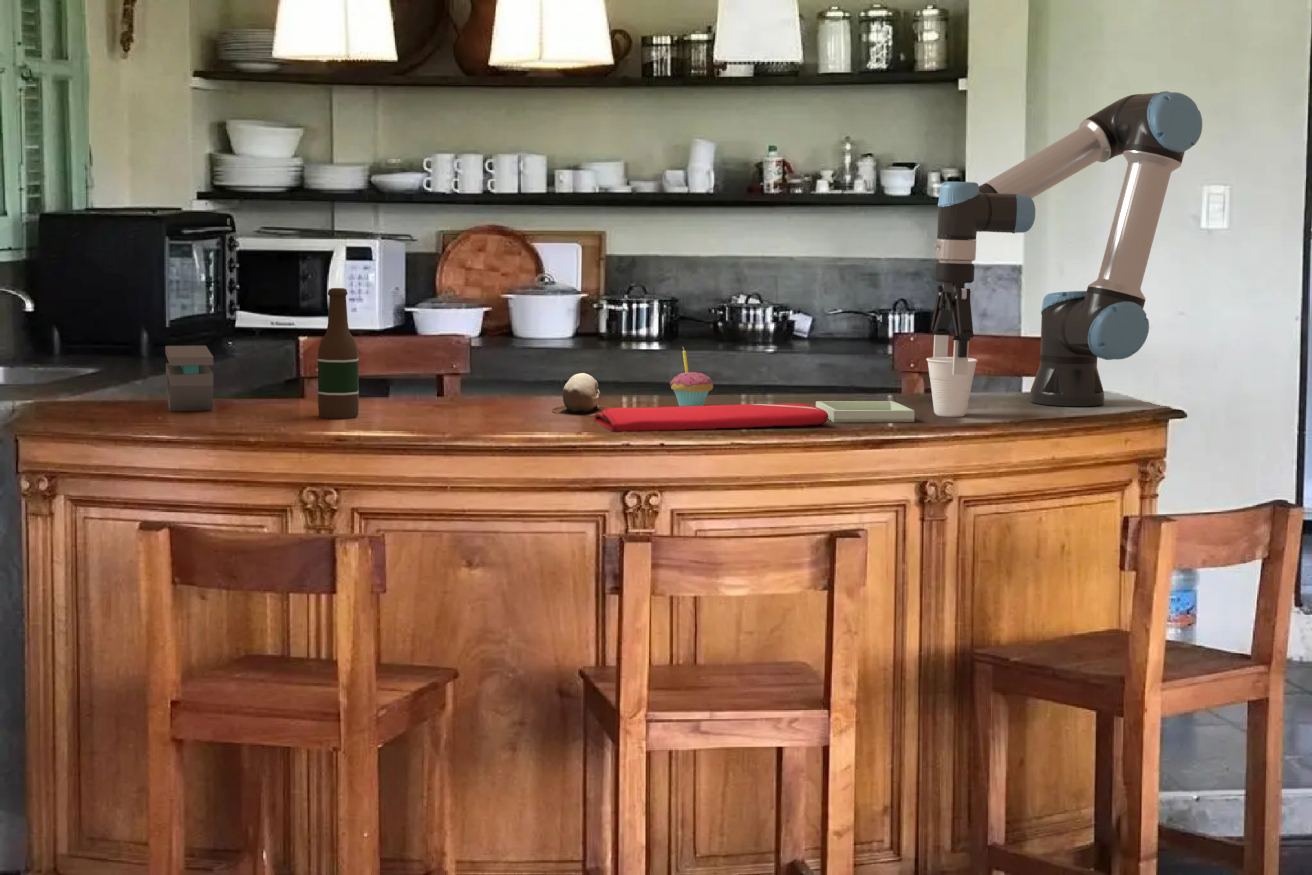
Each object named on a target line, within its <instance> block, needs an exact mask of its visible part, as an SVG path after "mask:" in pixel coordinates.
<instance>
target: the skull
mask: <svg viewBox="0 0 1312 875" xmlns="http://www.w3.org/2000/svg"><path fill="white" fill-rule="evenodd" d="M563 386H564V387H563V388H562V401H563V405H560V406H557V407H554V408H552V409H551V412H552V413H554V414H557V415H558V414H559V415H582V416H590V417H591V416H594V417H595V415H596V414H598V413H601V414H602V411H603V410H605V409H610V408H612V407H611V406H607V405H602V404H601V405H599V402H598V399H599V396H600V394H601V392H600V390H599V383H598V381H597V379H595V378H594V377H593V376H592V375H590V374H588V373H585V372H581V373H576V374H573V375H572V376H571V377H570V378H569V380H567V382H566V383H565V385H563Z"/></svg>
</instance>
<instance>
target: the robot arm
mask: <svg viewBox="0 0 1312 875" xmlns="http://www.w3.org/2000/svg"><path fill="white" fill-rule="evenodd" d="M1202 131H1203V117H1202V114H1201V111H1200V109H1199V108H1198V106H1197V103H1196V102H1195V101H1194V100H1193V99H1192V98H1191V97H1189V96H1188V95H1187V94H1184V93H1180V92H1172V91H1167V90H1166V91H1159V92H1152V93H1137V94H1135V93H1134V94H1130V95H1128V96H1125V97H1123V98H1120V99H1118V100H1116V101H1114V102H1113V103H1110V104H1109V105H1107V106H1105V107H1104V108H1102V109H1100V110H1099V111H1096V112H1095V113H1093V115H1091V116H1089V117H1087V118H1085V119H1083V120H1082V121H1081V122H1080V124H1079V127H1078V129H1076V130H1074V131H1072V132H1071V133H1069V134H1067V135H1065V136H1064V137H1062V138H1061V139H1060V138H1059V140H1057V141H1055V142H1053V143H1052V144H1050V145H1049V146H1047V147H1045V148H1043V149H1041V150H1040V151H1038V152H1036V153H1034V154H1033V155H1031V156H1030V157H1028V158H1026V159H1024V160H1022V161H1021V162H1019V163H1016V164H1015V165H1013V166H1012V167H1009V168H1008V169H1007V170H1005V171H1003V172H1001V173H1000V174H998V175H996V176H995V177H993V178H992V179H989V180H987V182H984V183H983V184H981V185H979V183H977V182H972V181H945V182H943V183H942V184H941V185H940V187H939V194H938V203H937V207H938V208H937V209H938V210H937V211H938V212H937V233H936V234H937V236H936V238H937V239H936V243H935V244H934V245H933V248H934V249H935V250H936V253H935V254H936V255H935V256H936V260H938V262H936V264H935V267H934V268H935V271H934V280H935V281H936V282H937V283H938V282H939V283H943V284H942V285H941V284H938V286H937V294H936V301H935V306H934V311H933V315H932V316H933V317H932V322H931V325H930V330H931V331H932V333H933V352H932V354H933V355H932V357H949V356H948V355H949V354H948V351H949V337H950V335H951V332H950V329H949V328H950V325H951V321H952V323H953V328H954V333H955V334H954V335H953V336H952V341H953V354H952V355H953V356H952V357H953V373H952V374H953V375H967V370H968V358H969V351H970V350H969V346H970V341H971V339H973V338H974V327H973V325H974V324H973V315H972V307H971V306H972V305H971V293H972V292H971V289H970V288H965V284H972V283H974V281H975V268H976V267H975V264H974V263H973V262H975V261H976V257H977V256H976V254H977V253H976V252H977V236H978V235H977V232H978V233H983V232H985V233H1006V234H1009V233H1012V234H1017V233H1018V234H1020V233H1021V234H1022V233H1026V232H1027V233H1028V231H1029V230H1031V228H1032V227H1033V225H1034V224H1035V220H1036V206H1035V202H1034V198H1035V197H1037V196H1038V195H1041V194H1042V193H1044V192H1045V191H1047V190H1048V189H1051V188H1052V187H1054V186H1056V185H1058V184H1060V183H1061V182H1064V181H1065V180H1067V179H1068V178H1070V177H1072V176H1073V175H1076V174H1077V173H1079V172H1080V171H1083V170H1084V169H1085V168H1087V167H1090V166H1091V165H1092V164H1094V163H1097V162H1099V163H1105V162H1107V161H1109V160H1111V159H1113V158H1115V157H1118V156H1121V155H1123V157H1124V159H1125V160H1126V161H1127V167H1126V171H1125V174H1124V178H1123V183H1122V185H1121V189H1120V193H1119V196H1118V197H1119V198H1118V201H1117V205H1116V208H1115V212H1114V215H1113V221H1112V224H1111V228H1110V231H1109V235H1108V237H1107V238H1108V239H1107V242H1106V247H1105V250H1104V255H1103V258H1102V262H1101V265H1100V268H1099V269H1100V270H1099V273H1098V277H1097V279H1096V280H1095V281H1093V282H1091V283H1090V284H1088V286H1087V289H1086V290H1074V291H1059V292H1051V293H1047V294H1046V295H1045V296H1044V297H1043V299H1042V305H1041V311H1040V314H1041V320H1040V321H1041V328H1040V349H1039V350H1040V353H1039V354H1040V355H1039V357H1040V358H1039V365H1038V369H1037V372H1036V375H1035V377H1034V380H1033V383H1032V386H1031V388H1030V392H1029V402H1030V403H1033V404H1038V405H1047V406H1048V405H1049V406H1057V407H1058V406H1060V407H1062V406H1063V407H1094V406H1095V407H1096V406H1102V405H1104V404H1105V391H1104V388H1103V384H1102V380H1101V378H1100V377H1101V376H1100V374H1099V370H1098V358H1099V359H1103V360H1106V361H1111V360H1113V361H1114V360H1117V361H1118V360H1124V359H1128V358H1130V357H1131V356H1133V355H1134V354H1136V353H1138V352H1139V351H1140V349H1141V348H1142V347H1143V346H1144V344H1145V343H1146V340H1147V338H1148V335H1149V332H1150V331H1149V330H1150V320H1149V318H1148V317H1147V313H1146V311H1145V309H1144V307H1145V304H1146V297H1145V295H1144V293H1143V292H1142V289H1141V288H1142V286H1143V285H1142V284H1143V281H1144V276H1145V272H1146V268H1147V265H1148V261H1149V259H1150V258H1149V257H1150V254H1151V250H1152V246H1153V243H1154V239H1155V235H1156V233H1157V232H1156V230H1157V229H1158V228H1157V227H1158V224H1159V220H1160V215H1161V214H1162V209H1163V205H1164V200H1165V197H1166V194H1167V189H1168V187H1169V182H1170V178H1171V174H1172V173H1173V172H1174V171H1175V170H1177V169H1179V168H1180V167H1182V165H1183V164H1182V163H1183V159H1184V156H1185V152H1186V151H1188V150H1190V149H1191V148H1192V147H1193V146H1195V145H1196V144H1197V143H1198V141H1199V139H1200V138H1201V136H1202Z"/></svg>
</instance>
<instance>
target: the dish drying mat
mask: <svg viewBox="0 0 1312 875" xmlns="http://www.w3.org/2000/svg"><path fill="white" fill-rule="evenodd" d="M594 421H595V423H598V424H600V425H602V427H603V426H604V427H605V428H606V429H608V430H609V431H611V432H639V431H641V432H646V431H648V432H649V431H655V432H656V431H687V430H686V429H703V430H717V429H716V428H735V429H755V427H761V428H775V427H774V426H791V427H809V426H808V425H815V426H821V425H824V424H826V423H827V421H829V420H828V414H827V412H826V411H825V410H822V409H820V408H817V407H816V405H811V404H806V403H766V404H765V403H763V404H761V403H754V404H753V403H751V404H715V405H713V404H712V405H704V406H679V405H678V406H656V407H655V406H650V407H649V406H648V407H647V406H646V407H643V406H642V407H611V408H610V409H605V410H603V411H602V414H601V413H598V414H596V415H594ZM819 424H820V425H819ZM713 428H714V429H713Z"/></svg>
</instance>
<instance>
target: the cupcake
mask: <svg viewBox="0 0 1312 875" xmlns="http://www.w3.org/2000/svg"><path fill="white" fill-rule="evenodd" d="M682 350H683V351H682V357H683V358H682V359H683V365H684V371H685V372H682V373H679V374H677V375H676V376H674V377H673V378H672V379H671V380H670V381H669V385H670V388H671V390H673V392H674V394H675V396H676V400H677V403H678V406H705V401H706V399H707V396H708V394H709V392H711V391H712V390H713V388H714V384H713V380H712V379H711V378H710V376H708V375H706V374H705V373H702V372H697V371H696V372H695V371H693V372H692V371H689V367H688V366H689V365H688V356H687V351H686V350H685V348H684V346H682Z"/></svg>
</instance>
